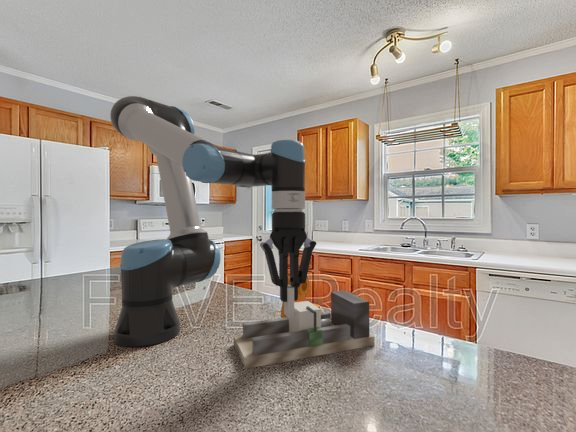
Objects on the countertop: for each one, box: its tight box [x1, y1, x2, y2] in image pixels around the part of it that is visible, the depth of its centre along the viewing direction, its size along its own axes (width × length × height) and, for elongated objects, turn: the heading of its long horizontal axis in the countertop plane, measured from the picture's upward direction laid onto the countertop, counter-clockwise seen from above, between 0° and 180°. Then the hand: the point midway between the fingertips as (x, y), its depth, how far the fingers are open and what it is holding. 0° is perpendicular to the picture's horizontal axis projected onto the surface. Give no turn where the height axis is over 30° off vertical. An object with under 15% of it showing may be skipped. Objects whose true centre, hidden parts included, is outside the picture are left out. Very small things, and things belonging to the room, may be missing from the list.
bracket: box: [280, 275, 321, 318], centre depth 92 cm, size 11×7×12 cm, turn 147°
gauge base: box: [233, 290, 376, 370], centre depth 73 cm, size 30×12×10 cm, turn 110°
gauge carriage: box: [289, 300, 331, 332], centre depth 73 cm, size 9×10×7 cm
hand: (289, 315), depth 72 cm, fingers closed
